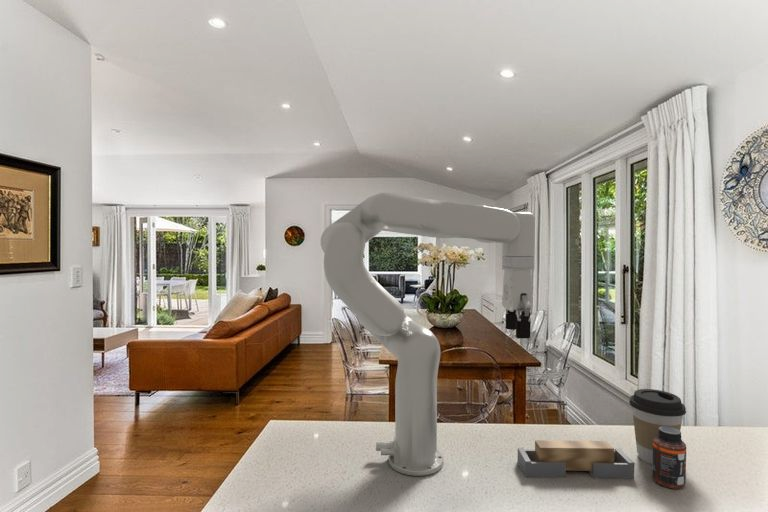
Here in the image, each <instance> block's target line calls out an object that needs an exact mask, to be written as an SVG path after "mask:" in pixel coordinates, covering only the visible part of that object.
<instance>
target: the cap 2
mask: <svg viewBox="0 0 768 512" xmlns="http://www.w3.org/2000/svg"><path fill="white" fill-rule="evenodd" d="M635 466H636V465H635V462H634V461H633V460H632V459H631V458H630V457H629V456H628V455H627V454H626V453H625V452H624V451H623V450H622V449H621V448H614V463H593V471H588V473H589V474H590V475H591V476H592V478H593V479H594V478H595V479H597V478H598V479H600V478H601V479H635Z"/></svg>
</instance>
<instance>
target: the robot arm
mask: <svg viewBox="0 0 768 512" xmlns="http://www.w3.org/2000/svg"><path fill="white" fill-rule="evenodd" d="M383 231H384V232H391V233H396V234H397V233H398V234H406V235H413V236H421V237H427V238H428V237H429V238H438V239H454V238H455V239H472V240H475V241H477V242H479V243H483V244H491V243H494V244H502V245H501V247H502V253H501V257H502V258H501V260H502V261H501V269H502V270H504V272H503V279H502V281H503V282H502V295H501V296H502V299H501V300H502V301H501V304H502V307H503V308H505V329H506V330H515V337H516V338H517V339H530V338H531V320H532V319H531V316H532V314H531V311H532V306H533V284H532V282H533V281H532V279H533V278H532V271H534V270H535V265H536V263H535V258H536V257H535V253H536V251H535V250H536V248H535V246H536V245H535V243H536V242H535V241H536V238H535V237H536V217H535V215H534V214H533V213H531V212H529V211H527V212H526V211H518V212H517V211H515V212H513V211H510V210H509V209H506V208H505V209H504V208H500V207H494V206H493V207H492V206H487V205H480V204H473V203H472V204H470V203H462V202H454V201H449V200H447V201H446V200H438V199H431V198H426V197H425V198H424V197H418V196H413V195H405V194H401V193H394V192H379V193H377V194H373V195H371V196H369V197H367V198H366V199H365V200H363V201H362V202H360V203H359V204H358V205H356V206H355V207H354V208H352V209H351V210H349V211H348V212H347V213H346V214H344V215H343V216H341V217H339V218H338V219H337V220H335V221H334V222H333V223H331V224H330V225H328V226H327V227H326V228H325V229H324V230H323V232H322V233H321V236H320V247H321V250H322V252H323V253H324V256H323V268H324V269H323V270H324V275H325V279H326V281H327V284H328V285H329V287H330V289H331V290H332V292H333V293H334V294H335V295H336V296H337V298H339V300H340V301H342V303H344V305H345V306H347V307H348V309H349V310H350V311H351V312H352V313H353V314H354V315H355V318H356V320H357V322H359V324H360V325H362V327H363V328H365V330H367V332H368V333H369V334H370V335H372V336H373V337H374V338H375V339H376V340H377V341H378V342H379V343H380V344H381V345H382V346H383V347H384V348H386V350H387V351H388V352H390V353H391V354H392V355H393V356H394V357H395V358H396V359H397V368H396V369H397V370H396V372H395V373H396V374H395V380H394V382H395V383H394V387H395V388H394V390H395V391H394V396H395V397H394V399H395V400H394V401H395V404H394V405H395V406H394V407H395V408H394V409H395V411H394V413H395V417H394V419H395V426H394V427H395V436H394V437H393V440H392V441H390V440H389V442H382V441H379V442H377V441H376V442H375V452H380V455H381V456H388V464H389V466H390V467H391V468H392V469H394V471H396V472H398V473H401V474H404V475H407V476H412V477H415V476H416V477H417V476H418V477H420V476H422V477H424V476H429V475H432V474H434V473H436V472H438V471H440V470H441V469H442V468H443V466H444V456H443V454H442V453H441V452H440V451H439V450H438V449H437V446H438V445H437V443H438V440H437V439H438V437H437V433H438V432H437V431H438V429H437V427H438V425H437V424H438V412H437V411H438V374H439V367H440V360H441V345H440V341H439V340H438V337H436V335H435V334H434V333H433V332H432V330H430V329H428V328H427V327H425V326H423V325H421V324H419V323H417V322H415V321H414V320H413V319H412V318H411V317H409V316H408V315H407V314H406V313H405V310H404V308H403V306H402V304H401V303H400V302H399V299H398V300H397V298H396V297H394V296H393V295H392V294H391V293H390V292H388V291H387V289H385V288H384V287H383V286H382V285H381V284H380V283H379V282H378V280H376V279H375V277H374V276H373V275H372V274H371V273H370V272H369V271H368V269H367V268H366V265H365V262H364V252H365V248H366V243H368V242H370V241H371V240H372V239H373V238H375V237H376V236H377V235H378V234H379V233H381V232H383Z"/></svg>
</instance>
